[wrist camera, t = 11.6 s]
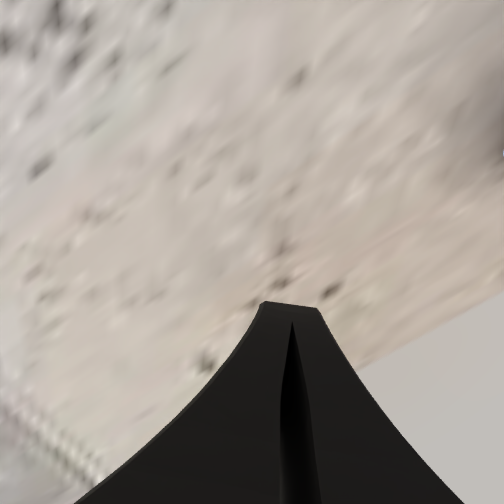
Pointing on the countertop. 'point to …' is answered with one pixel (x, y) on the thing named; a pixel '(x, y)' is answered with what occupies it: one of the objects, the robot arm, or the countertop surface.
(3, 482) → the countertop surface
